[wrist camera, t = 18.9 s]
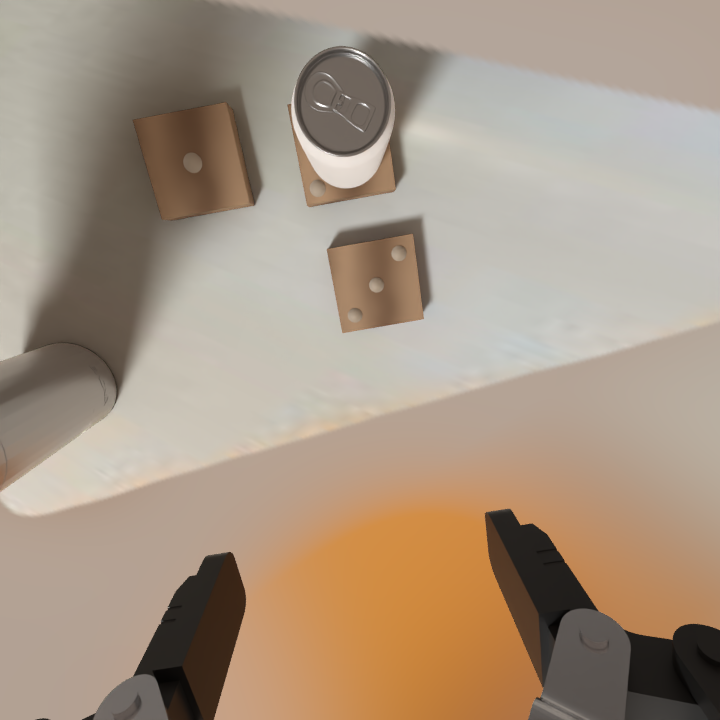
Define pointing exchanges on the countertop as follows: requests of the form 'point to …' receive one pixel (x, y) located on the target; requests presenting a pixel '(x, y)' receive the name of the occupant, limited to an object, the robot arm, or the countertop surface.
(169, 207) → the tile
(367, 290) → the tile
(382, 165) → the tile
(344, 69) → the can
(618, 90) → the countertop surface
